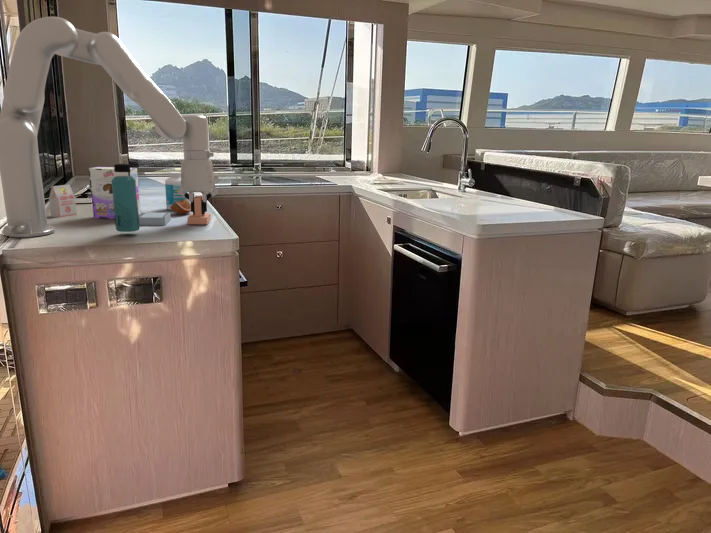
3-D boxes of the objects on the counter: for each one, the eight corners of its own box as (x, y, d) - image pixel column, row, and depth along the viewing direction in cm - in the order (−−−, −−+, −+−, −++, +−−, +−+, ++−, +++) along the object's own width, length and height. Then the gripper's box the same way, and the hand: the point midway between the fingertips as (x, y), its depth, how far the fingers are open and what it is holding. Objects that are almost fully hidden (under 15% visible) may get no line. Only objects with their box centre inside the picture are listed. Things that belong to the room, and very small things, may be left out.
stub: (207, 224, 169) (206, 198, 167) (187, 224, 168) (186, 198, 166) (210, 219, 178) (209, 194, 176) (191, 219, 177) (190, 194, 175)
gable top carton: (51, 216, 176) (47, 186, 173) (68, 213, 182) (65, 184, 179) (59, 217, 174) (55, 186, 172) (76, 214, 180) (73, 184, 178)
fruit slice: (184, 216, 183) (183, 202, 182) (166, 215, 184) (165, 201, 183) (195, 212, 191) (195, 198, 189) (178, 211, 192) (177, 197, 191)
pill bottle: (175, 211, 191) (173, 173, 188) (162, 209, 195) (159, 171, 192) (192, 209, 198) (190, 172, 194) (178, 207, 201) (176, 170, 198)
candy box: (142, 217, 179) (138, 167, 175) (133, 220, 173) (129, 169, 169) (102, 215, 180) (97, 166, 176) (92, 218, 175) (87, 167, 170)
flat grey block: (165, 225, 168) (164, 217, 167) (128, 225, 166) (127, 217, 165) (170, 219, 176) (170, 212, 175) (135, 219, 175) (135, 212, 174)
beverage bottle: (145, 233, 155) (140, 163, 150) (131, 238, 149) (125, 165, 144) (125, 231, 156) (119, 162, 151) (110, 236, 150) (103, 164, 145)
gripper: (223, 155, 172) (225, 212, 177) (172, 154, 170) (175, 211, 175) (221, 157, 165) (223, 216, 170) (167, 156, 163) (171, 215, 168)
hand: (199, 213), depth 172 cm, fingers closed on stub, 2 cm apart
